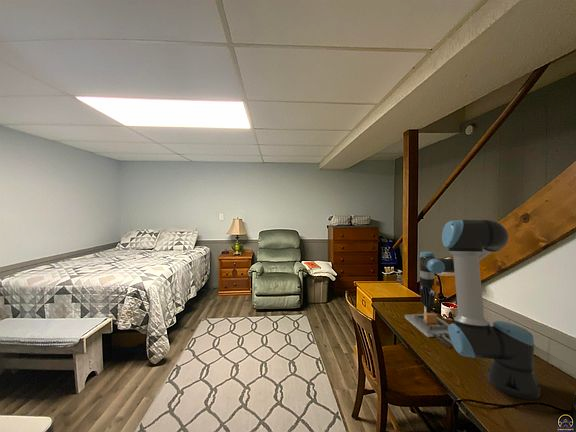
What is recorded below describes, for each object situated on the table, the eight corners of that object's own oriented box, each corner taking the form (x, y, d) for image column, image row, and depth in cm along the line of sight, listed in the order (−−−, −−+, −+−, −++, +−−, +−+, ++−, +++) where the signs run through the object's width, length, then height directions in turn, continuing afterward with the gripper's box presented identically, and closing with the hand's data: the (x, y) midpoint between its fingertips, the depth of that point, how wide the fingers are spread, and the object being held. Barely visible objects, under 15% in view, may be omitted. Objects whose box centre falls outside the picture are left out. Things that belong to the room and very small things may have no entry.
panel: (460, 335, 134) (460, 329, 133) (427, 337, 133) (427, 330, 133) (432, 316, 158) (432, 311, 157) (404, 317, 157) (404, 312, 157)
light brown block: (437, 323, 144) (437, 314, 144) (426, 323, 144) (426, 315, 143) (433, 320, 147) (433, 312, 147) (423, 321, 147) (423, 312, 146)
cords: (464, 347, 122) (464, 345, 122) (448, 348, 122) (448, 346, 122) (448, 336, 133) (448, 334, 133) (434, 336, 133) (434, 334, 133)
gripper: (440, 280, 141) (440, 321, 142) (426, 274, 154) (426, 312, 155) (427, 281, 141) (427, 322, 141) (414, 275, 154) (415, 312, 154)
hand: (427, 317), depth 148 cm, fingers closed
